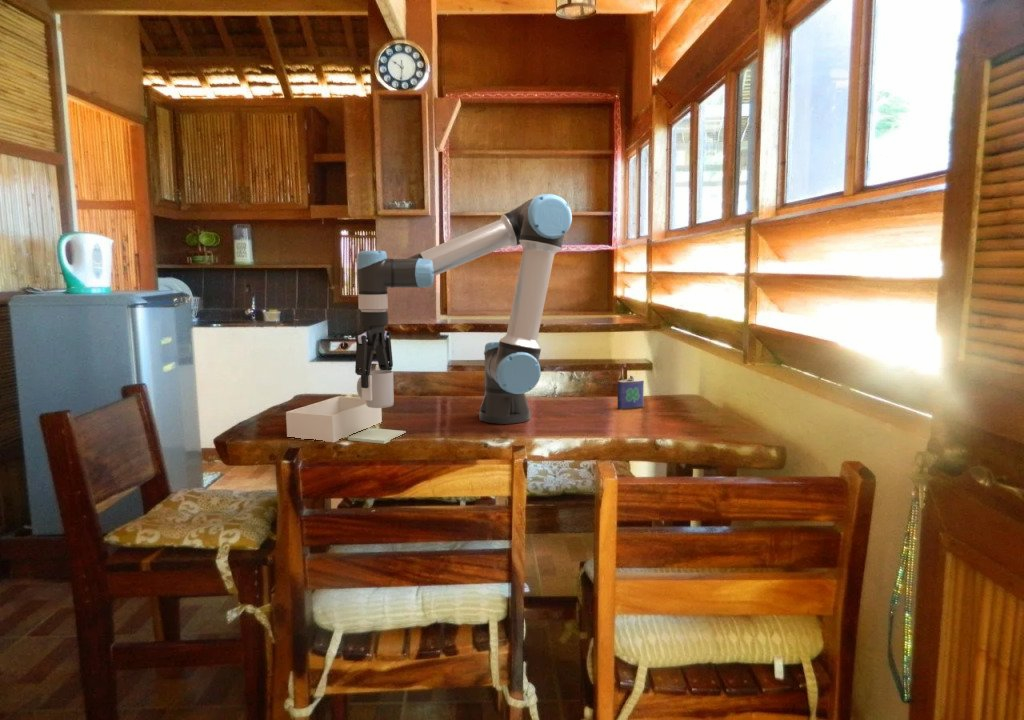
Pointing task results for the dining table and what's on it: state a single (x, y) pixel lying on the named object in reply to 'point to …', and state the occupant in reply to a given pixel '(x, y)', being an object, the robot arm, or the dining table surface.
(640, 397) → the flask
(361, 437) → the tile
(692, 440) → the dining table surface
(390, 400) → the cup
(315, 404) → the crate
